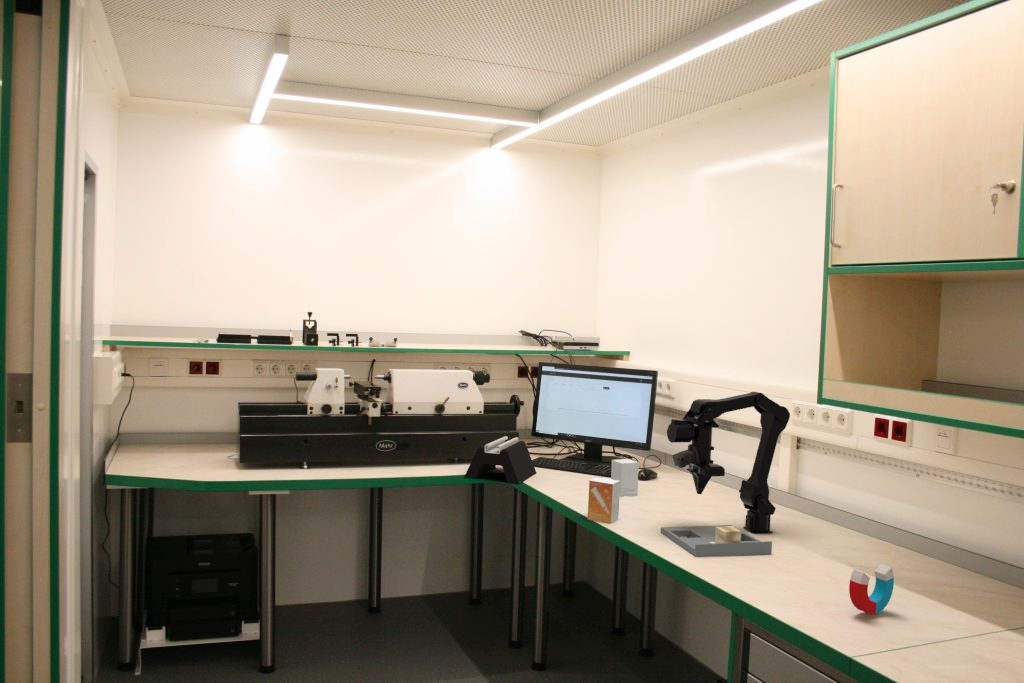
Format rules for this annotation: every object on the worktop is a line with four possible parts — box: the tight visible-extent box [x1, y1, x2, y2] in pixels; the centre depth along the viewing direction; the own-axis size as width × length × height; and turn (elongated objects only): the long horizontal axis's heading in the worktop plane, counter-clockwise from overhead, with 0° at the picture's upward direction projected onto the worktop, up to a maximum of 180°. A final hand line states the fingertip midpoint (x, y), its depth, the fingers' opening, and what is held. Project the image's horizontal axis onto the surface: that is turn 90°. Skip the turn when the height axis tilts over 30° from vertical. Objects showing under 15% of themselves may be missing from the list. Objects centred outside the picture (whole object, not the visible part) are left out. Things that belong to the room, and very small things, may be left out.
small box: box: [587, 477, 620, 525], centre depth 237 cm, size 8×6×13 cm
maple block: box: [715, 525, 742, 543], centre depth 210 cm, size 5×5×4 cm
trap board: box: [660, 524, 773, 558], centre depth 218 cm, size 22×23×4 cm
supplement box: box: [610, 458, 640, 498], centre depth 273 cm, size 7×7×13 cm
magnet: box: [848, 563, 895, 615], centre depth 169 cm, size 12×3×10 cm, turn 118°
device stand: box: [463, 435, 537, 485], centre depth 293 cm, size 22×22×15 cm
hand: (699, 493), depth 227 cm, fingers closed
